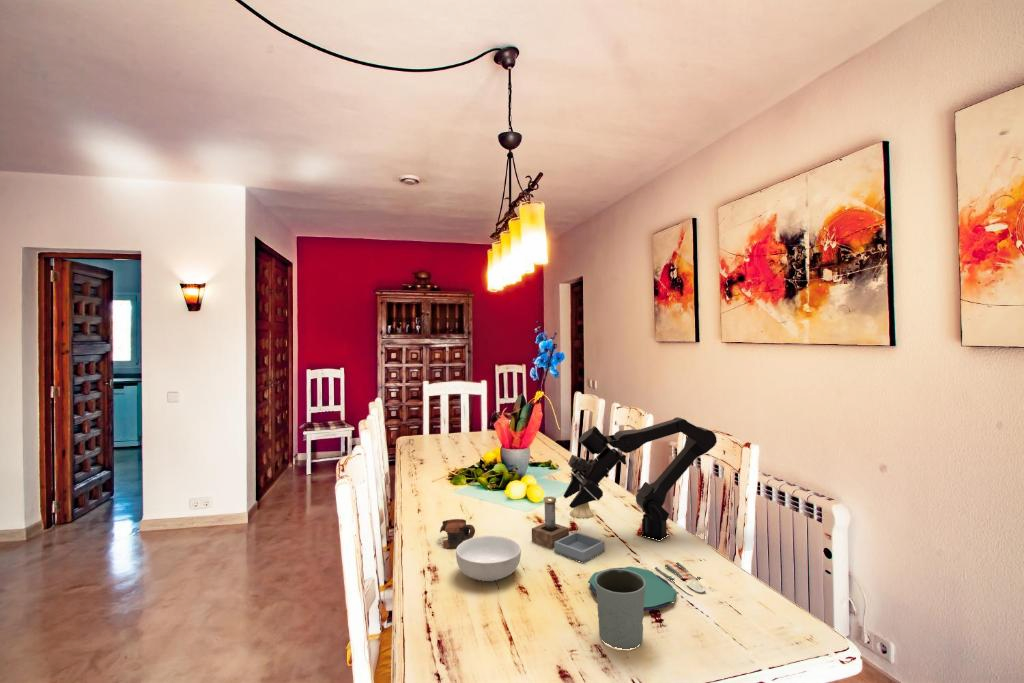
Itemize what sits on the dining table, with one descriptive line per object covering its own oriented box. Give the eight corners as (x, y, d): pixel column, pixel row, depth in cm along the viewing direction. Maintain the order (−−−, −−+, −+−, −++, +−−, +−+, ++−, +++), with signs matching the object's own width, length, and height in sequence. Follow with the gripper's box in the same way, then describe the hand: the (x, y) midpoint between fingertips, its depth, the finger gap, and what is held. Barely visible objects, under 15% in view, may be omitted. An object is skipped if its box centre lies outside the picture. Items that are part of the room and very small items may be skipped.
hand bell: (595, 518, 167) (594, 471, 167) (571, 518, 167) (570, 472, 167) (592, 510, 175) (591, 465, 175) (568, 510, 175) (568, 466, 175)
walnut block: (569, 541, 148) (568, 527, 148) (551, 549, 143) (551, 535, 143) (549, 534, 154) (548, 521, 154) (531, 541, 148) (531, 528, 148)
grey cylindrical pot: (638, 623, 105) (637, 567, 105) (653, 653, 95) (652, 591, 95) (591, 625, 104) (590, 569, 104) (601, 655, 94) (600, 593, 94)
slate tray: (604, 551, 140) (604, 541, 140) (583, 563, 133) (583, 552, 133) (576, 541, 148) (576, 531, 148) (554, 552, 140) (554, 542, 140)
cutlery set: (575, 581, 124) (575, 572, 124) (675, 564, 133) (675, 556, 133) (616, 625, 105) (616, 614, 105) (729, 601, 114) (729, 592, 114)
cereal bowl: (462, 595, 117) (461, 566, 117) (451, 565, 134) (451, 539, 134) (529, 585, 122) (529, 556, 122) (511, 557, 138) (511, 532, 138)
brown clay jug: (433, 550, 145) (433, 521, 149) (450, 552, 152) (449, 525, 156) (469, 544, 141) (468, 514, 145) (484, 547, 148) (483, 519, 153)
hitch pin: (559, 541, 148) (558, 498, 148) (551, 545, 146) (550, 501, 146) (549, 537, 151) (549, 495, 151) (541, 541, 148) (540, 498, 148)
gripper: (577, 440, 158) (543, 475, 158) (591, 453, 140) (553, 493, 139) (601, 463, 159) (568, 499, 158) (618, 480, 141) (581, 519, 140)
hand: (567, 502), depth 149 cm, fingers open, 9 cm apart
